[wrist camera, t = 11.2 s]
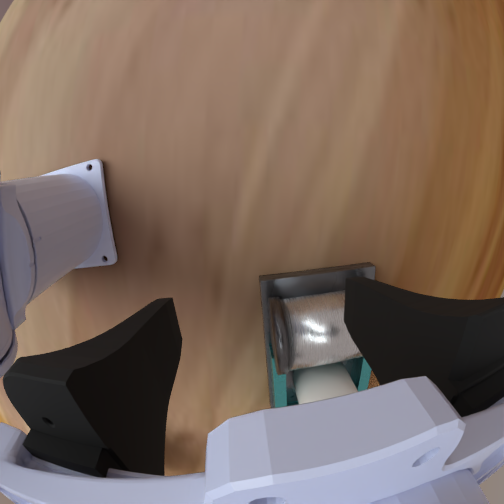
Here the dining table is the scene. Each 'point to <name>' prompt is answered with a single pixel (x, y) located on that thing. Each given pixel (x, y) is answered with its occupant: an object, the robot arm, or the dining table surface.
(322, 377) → the white capped bottle
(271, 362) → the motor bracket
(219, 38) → the dining table surface
